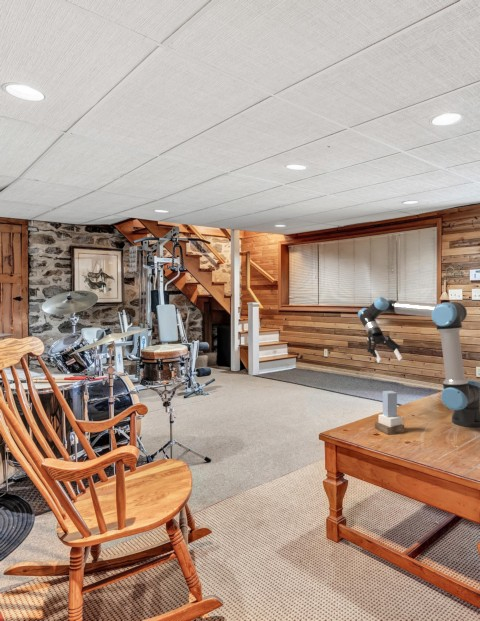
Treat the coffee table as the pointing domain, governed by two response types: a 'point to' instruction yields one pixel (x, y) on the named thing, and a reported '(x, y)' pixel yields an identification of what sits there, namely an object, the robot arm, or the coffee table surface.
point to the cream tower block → (390, 420)
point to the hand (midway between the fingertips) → (390, 360)
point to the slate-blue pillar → (390, 403)
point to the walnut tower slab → (389, 428)
